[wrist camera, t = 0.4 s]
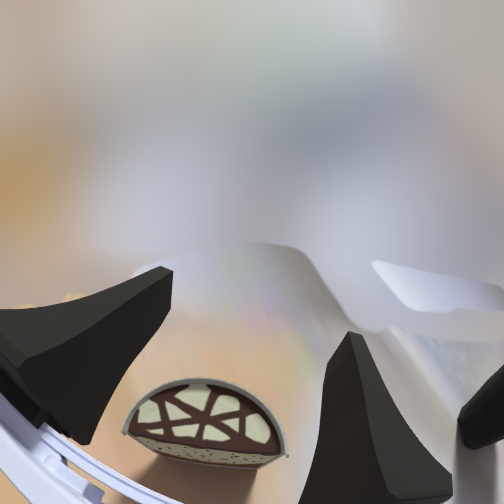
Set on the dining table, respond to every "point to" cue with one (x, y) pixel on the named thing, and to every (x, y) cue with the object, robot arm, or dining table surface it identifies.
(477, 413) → the portable speaker
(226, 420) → the food container
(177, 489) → the dining table surface
